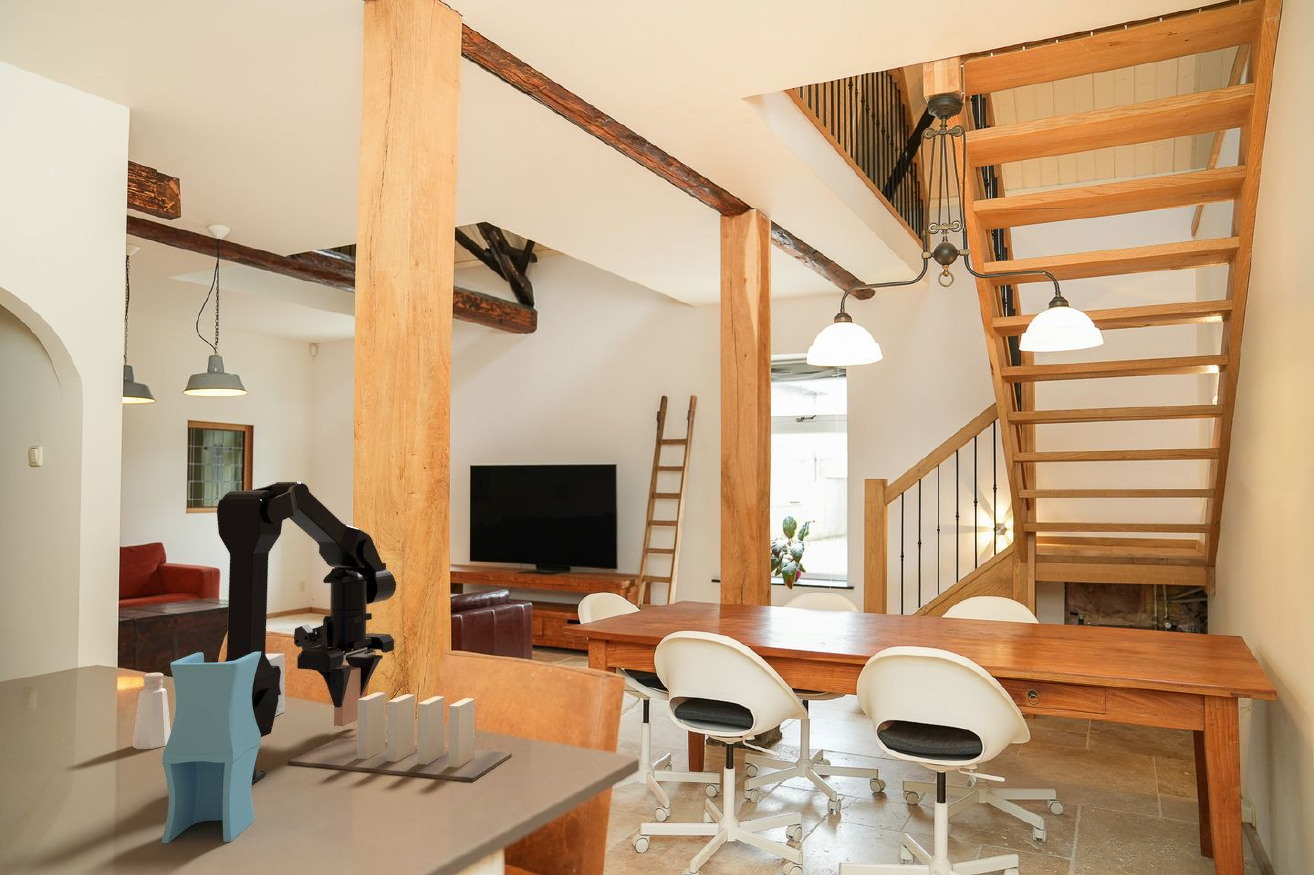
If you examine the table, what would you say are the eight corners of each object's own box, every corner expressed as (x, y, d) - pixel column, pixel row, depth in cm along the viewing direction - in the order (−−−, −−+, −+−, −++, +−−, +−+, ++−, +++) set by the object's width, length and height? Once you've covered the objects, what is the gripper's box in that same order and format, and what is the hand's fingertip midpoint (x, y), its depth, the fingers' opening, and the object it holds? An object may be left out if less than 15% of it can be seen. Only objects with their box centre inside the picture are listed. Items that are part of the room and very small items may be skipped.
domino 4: (474, 757, 132) (475, 698, 133) (458, 767, 128) (458, 706, 128) (465, 756, 133) (465, 698, 133) (448, 766, 128) (448, 705, 129)
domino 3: (444, 754, 134) (444, 696, 134) (427, 764, 129) (427, 704, 130) (434, 754, 134) (435, 696, 135) (417, 763, 130) (417, 703, 130)
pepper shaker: (153, 738, 146) (155, 669, 146) (179, 741, 144) (180, 671, 144) (123, 748, 140) (125, 676, 141) (150, 751, 139) (151, 678, 139)
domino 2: (414, 752, 135) (414, 694, 136) (396, 761, 131) (397, 702, 131) (405, 751, 136) (405, 694, 136) (386, 760, 131) (387, 701, 131)
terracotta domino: (360, 718, 152) (360, 667, 152) (342, 726, 147) (343, 673, 147) (351, 718, 152) (352, 667, 153) (334, 725, 147) (334, 672, 148)
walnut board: (511, 756, 135) (511, 752, 135) (473, 781, 123) (473, 777, 123) (338, 741, 143) (338, 738, 143) (287, 764, 132) (287, 760, 132)
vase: (259, 816, 111) (262, 651, 112) (231, 841, 103) (234, 663, 104) (194, 817, 110) (197, 652, 111) (160, 843, 102) (164, 664, 103)
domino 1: (385, 749, 137) (385, 692, 137) (366, 759, 132) (367, 700, 132) (376, 749, 137) (376, 692, 137) (357, 758, 132) (357, 699, 133)
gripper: (341, 600, 162) (340, 688, 161) (269, 614, 144) (267, 714, 143) (396, 602, 159) (395, 692, 158) (328, 616, 141) (327, 718, 140)
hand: (347, 703), depth 150 cm, fingers closed on terracotta domino, 5 cm apart
